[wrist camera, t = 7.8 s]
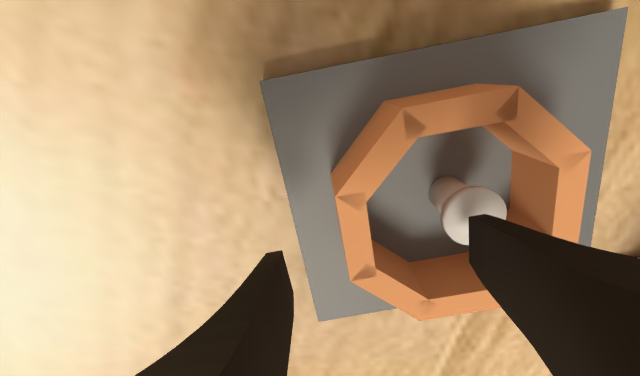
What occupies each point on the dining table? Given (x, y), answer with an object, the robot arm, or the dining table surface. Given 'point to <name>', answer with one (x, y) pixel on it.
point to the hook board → (434, 142)
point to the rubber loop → (525, 189)
